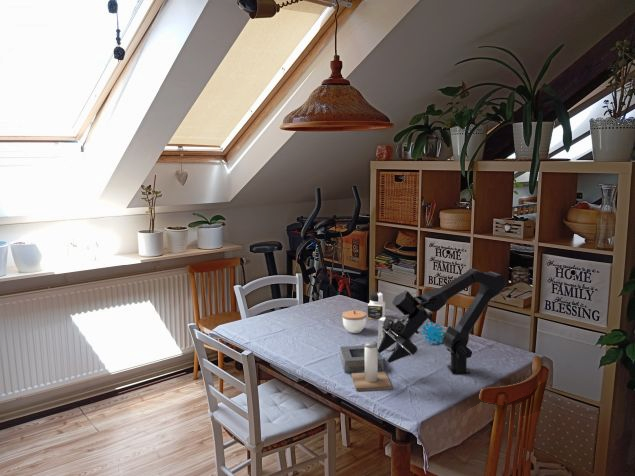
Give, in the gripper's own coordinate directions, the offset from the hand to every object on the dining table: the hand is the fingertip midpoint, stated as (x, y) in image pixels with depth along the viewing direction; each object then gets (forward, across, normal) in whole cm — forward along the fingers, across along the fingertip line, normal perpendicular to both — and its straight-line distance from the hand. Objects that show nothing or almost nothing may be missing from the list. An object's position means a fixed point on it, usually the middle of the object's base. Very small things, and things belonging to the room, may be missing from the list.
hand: (383, 356), depth 185 cm
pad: (+9, 0, +3) cm, 10 cm away
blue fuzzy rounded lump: (-17, -29, +31) cm, 46 cm away
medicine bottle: (-9, -66, +22) cm, 71 cm away
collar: (+8, -16, +4) cm, 18 cm away
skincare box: (-2, -28, +15) cm, 32 cm away
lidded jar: (+2, -52, +11) cm, 53 cm away
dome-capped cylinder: (+9, 0, +2) cm, 9 cm away
